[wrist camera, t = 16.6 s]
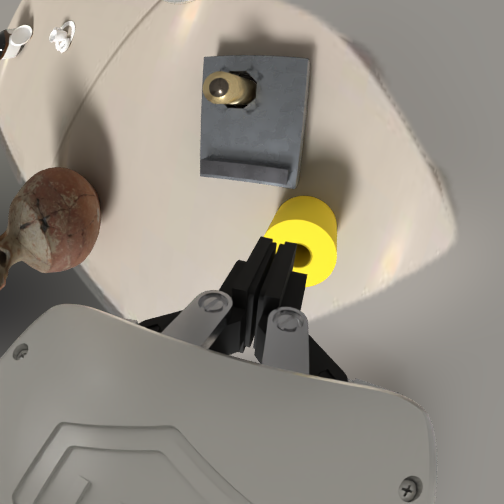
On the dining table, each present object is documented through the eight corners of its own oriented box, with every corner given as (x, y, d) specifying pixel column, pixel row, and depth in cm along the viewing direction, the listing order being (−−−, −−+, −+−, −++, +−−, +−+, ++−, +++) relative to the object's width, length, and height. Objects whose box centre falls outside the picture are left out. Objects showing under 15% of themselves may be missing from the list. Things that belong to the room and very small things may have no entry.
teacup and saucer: (73, 50, 35) (59, 50, 32) (54, 57, 37) (41, 58, 33) (79, 16, 31) (65, 15, 27) (59, 26, 32) (47, 25, 29)
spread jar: (14, 43, 34) (-15, 48, 25) (30, 15, 29) (-1, 17, 19) (19, 64, 38) (-12, 69, 28) (36, 34, 33) (2, 37, 23)
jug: (133, 237, 54) (31, 328, 29) (81, 246, 62) (0, 314, 37) (100, 142, 45) (-31, 198, 20) (52, 171, 52) (-42, 223, 27)
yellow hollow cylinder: (276, 192, 41) (261, 214, 33) (341, 200, 39) (342, 226, 31) (272, 248, 46) (258, 280, 38) (331, 257, 44) (329, 292, 36)
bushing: (233, 78, 34) (203, 72, 25) (259, 79, 33) (236, 70, 25) (231, 103, 36) (201, 103, 28) (257, 105, 35) (234, 104, 27)
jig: (215, 60, 33) (197, 55, 28) (310, 63, 30) (306, 55, 25) (211, 169, 42) (194, 179, 37) (298, 181, 39) (293, 193, 34)
